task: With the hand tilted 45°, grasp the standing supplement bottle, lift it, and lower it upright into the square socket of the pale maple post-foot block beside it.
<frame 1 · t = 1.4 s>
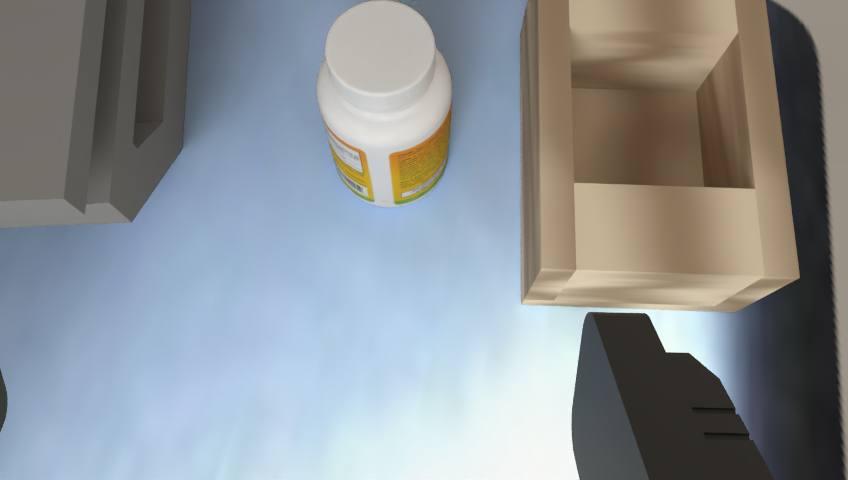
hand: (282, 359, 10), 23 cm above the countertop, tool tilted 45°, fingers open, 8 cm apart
post socket: (621, 165, 35), on the countertop
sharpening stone: (112, 51, 38), on the countertop
supplement bottle: (391, 159, 36), on the countertop
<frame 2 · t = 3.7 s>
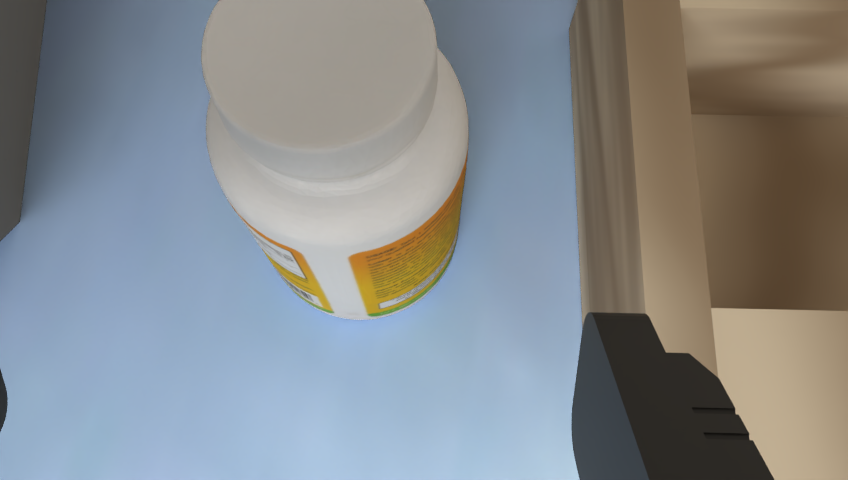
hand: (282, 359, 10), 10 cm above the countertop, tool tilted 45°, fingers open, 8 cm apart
post socket: (744, 240, 21), on the countertop
supplement bottle: (365, 234, 22), on the countertop
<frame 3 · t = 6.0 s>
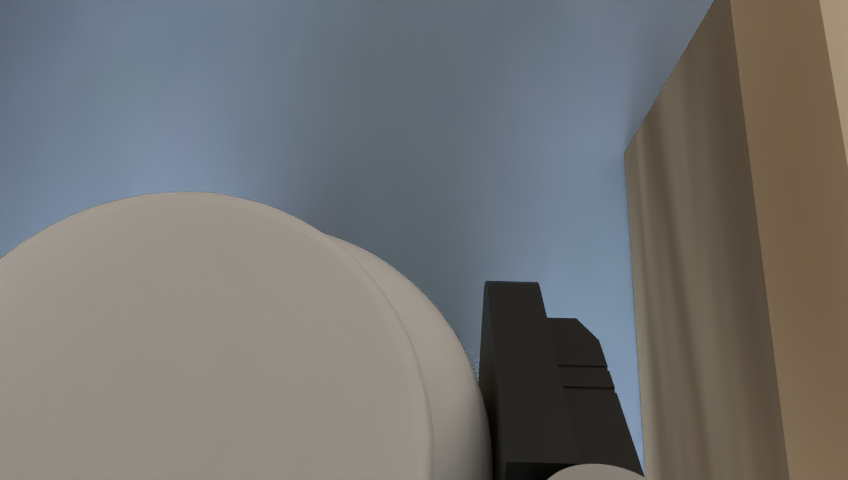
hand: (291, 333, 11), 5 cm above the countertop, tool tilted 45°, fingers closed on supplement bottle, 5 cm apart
supplement bottle: (328, 473, 15), on the countertop, touching gripper
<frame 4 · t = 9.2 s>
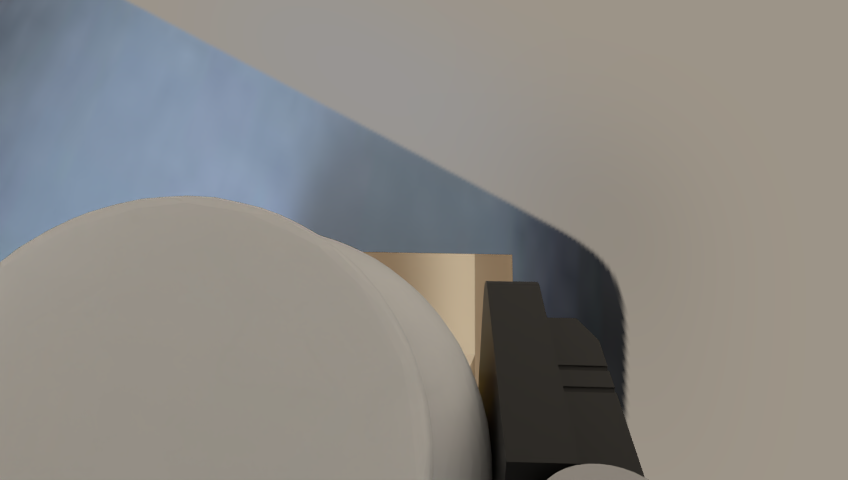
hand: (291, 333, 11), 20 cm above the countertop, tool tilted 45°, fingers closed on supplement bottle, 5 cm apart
post socket: (376, 465, 29), on the countertop
supplement bottle: (328, 475, 15), point 15 cm above the countertop, touching gripper
when the fingers open (8 cm above the countertop, at t = 12.7 s): supplement bottle drops 2 cm, resting on post socket.
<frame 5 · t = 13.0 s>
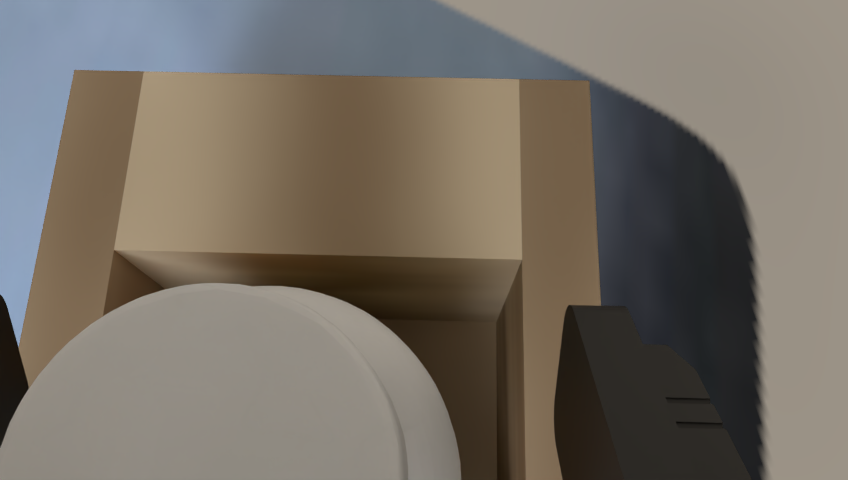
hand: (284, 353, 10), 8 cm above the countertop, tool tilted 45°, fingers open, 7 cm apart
post socket: (342, 475, 17), on the countertop
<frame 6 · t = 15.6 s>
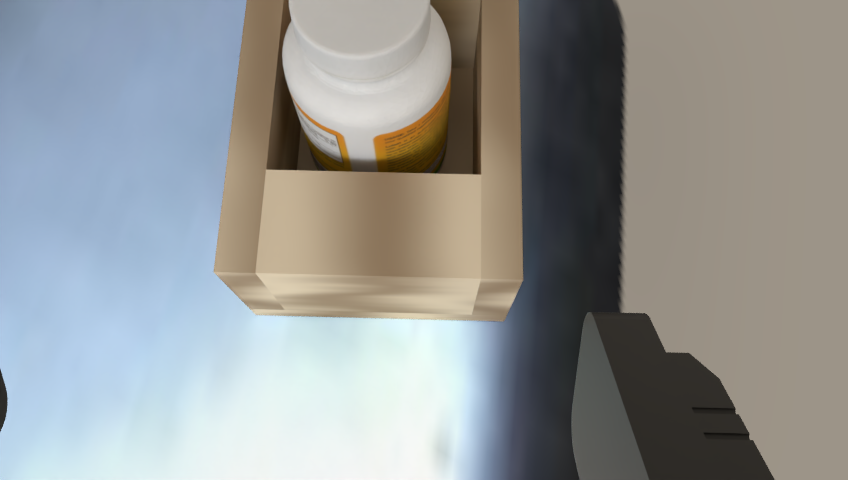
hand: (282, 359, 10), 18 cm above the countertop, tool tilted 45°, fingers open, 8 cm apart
post socket: (387, 153, 31), on the countertop
supplement bottle: (380, 149, 30), point 1 cm above the countertop, touching post socket
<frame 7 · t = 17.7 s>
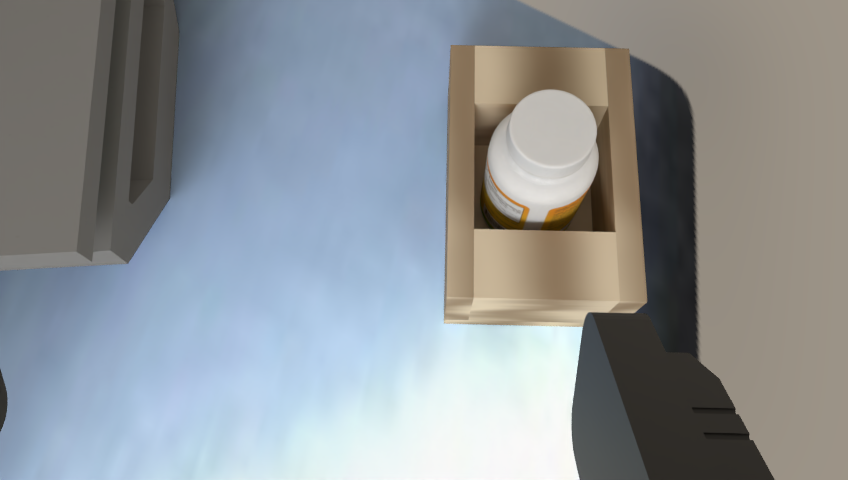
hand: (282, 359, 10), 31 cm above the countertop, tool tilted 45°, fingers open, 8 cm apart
post socket: (527, 208, 43), on the countertop
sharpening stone: (112, 117, 46), on the countertop
supplement bottle: (525, 206, 43), point 1 cm above the countertop, touching post socket
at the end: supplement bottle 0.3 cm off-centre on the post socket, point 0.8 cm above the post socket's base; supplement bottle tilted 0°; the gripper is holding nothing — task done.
